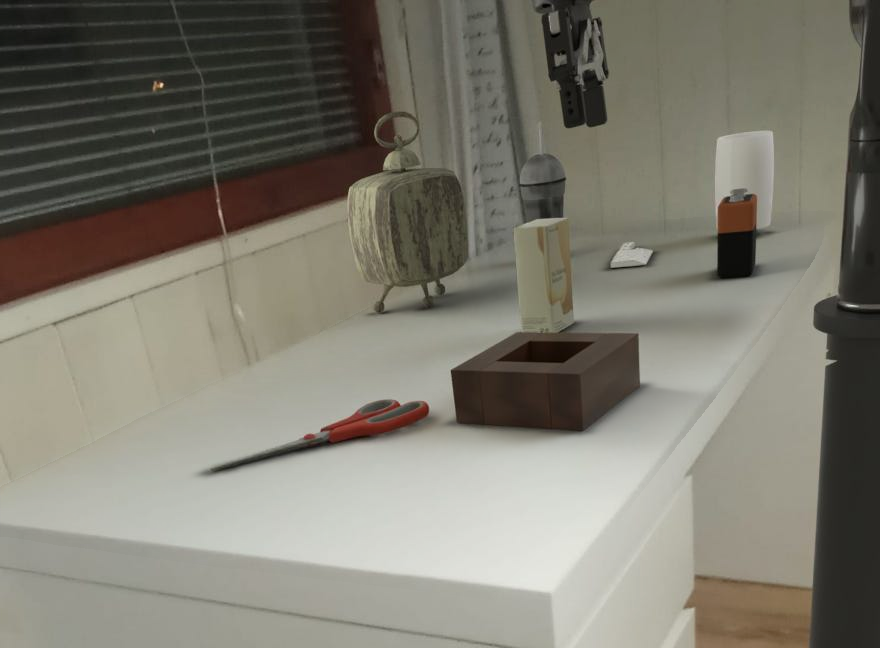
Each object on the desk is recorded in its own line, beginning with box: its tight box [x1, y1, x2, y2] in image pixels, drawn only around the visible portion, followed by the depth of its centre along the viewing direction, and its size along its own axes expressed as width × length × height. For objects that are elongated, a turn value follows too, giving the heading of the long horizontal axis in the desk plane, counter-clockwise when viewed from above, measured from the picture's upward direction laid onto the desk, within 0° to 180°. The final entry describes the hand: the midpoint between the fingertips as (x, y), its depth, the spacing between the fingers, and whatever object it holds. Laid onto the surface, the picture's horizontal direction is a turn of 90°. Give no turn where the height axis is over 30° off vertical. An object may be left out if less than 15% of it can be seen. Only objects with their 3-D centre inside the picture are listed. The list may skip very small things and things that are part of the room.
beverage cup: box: [518, 120, 567, 223], centre depth 155 cm, size 7×7×20 cm
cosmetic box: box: [513, 217, 575, 333], centre depth 116 cm, size 6×4×12 cm
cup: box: [714, 130, 775, 231], centre depth 150 cm, size 8×8×14 cm
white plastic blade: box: [610, 241, 654, 269], centre depth 150 cm, size 5×15×1 cm, turn 161°
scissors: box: [210, 398, 430, 471], centre depth 92 cm, size 8×21×2 cm, turn 126°
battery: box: [716, 188, 757, 279], centre depth 129 cm, size 4×7×10 cm, turn 159°
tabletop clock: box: [346, 111, 469, 314], centre depth 135 cm, size 14×9×25 cm, turn 123°
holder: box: [450, 331, 641, 432], centre depth 92 cm, size 13×13×5 cm
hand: (587, 126), depth 105 cm, fingers open, 8 cm apart
